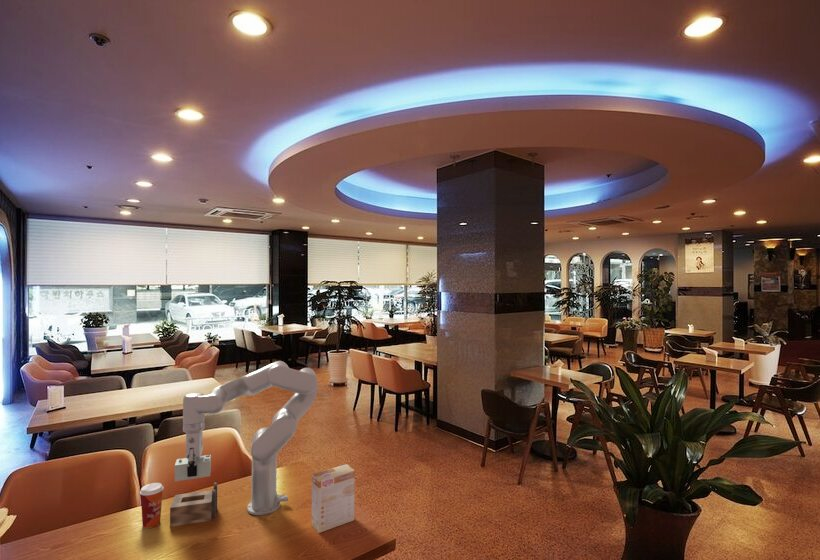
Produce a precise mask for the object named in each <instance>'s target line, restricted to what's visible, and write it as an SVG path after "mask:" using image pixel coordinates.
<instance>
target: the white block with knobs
mask: <svg viewBox="0 0 820 560" xmlns="http://www.w3.org/2000/svg"><path fill="white" fill-rule="evenodd" d="M211 458H212V455H211V454H205V455H201V456H200V457H199V458H198V457H197V458H196V465H197V476H192V477H187V466H188V459H187V458H186V457H184V458H177V459H176V461H175V464H174V482H178V481H179V482H180V481H186V480H192V479H193V480H194V479H199V478H201V479H202V478H207V477H211V470H212V464H211V463H212V461H211V460H212V459H211ZM194 460H195V459H193V461H194Z"/></svg>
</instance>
